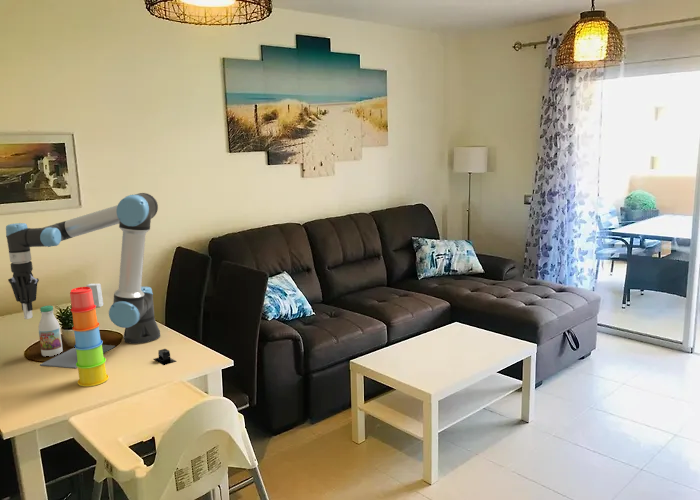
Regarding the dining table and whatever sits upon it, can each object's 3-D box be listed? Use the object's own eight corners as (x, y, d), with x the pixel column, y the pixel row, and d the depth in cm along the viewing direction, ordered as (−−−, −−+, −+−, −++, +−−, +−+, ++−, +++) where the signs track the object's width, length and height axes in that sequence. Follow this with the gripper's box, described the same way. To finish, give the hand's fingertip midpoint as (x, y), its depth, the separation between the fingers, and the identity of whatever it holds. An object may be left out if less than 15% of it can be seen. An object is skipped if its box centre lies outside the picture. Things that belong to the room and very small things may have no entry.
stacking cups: (114, 380, 203) (104, 286, 196) (85, 389, 195) (74, 292, 189) (101, 373, 209) (91, 282, 203) (72, 381, 202) (61, 288, 196)
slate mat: (115, 346, 237) (115, 345, 237) (75, 368, 214) (75, 367, 214) (82, 344, 241) (82, 343, 241) (40, 365, 218) (39, 364, 218)
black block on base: (180, 363, 219) (179, 352, 218) (162, 368, 214) (161, 357, 213) (166, 355, 228) (165, 344, 227) (148, 360, 223) (147, 349, 222)
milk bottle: (43, 351, 233) (37, 305, 229) (63, 349, 236) (58, 303, 232) (40, 358, 226) (34, 310, 222) (61, 355, 229) (55, 308, 225)
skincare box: (103, 305, 303) (101, 283, 301) (99, 307, 298) (97, 285, 296) (92, 305, 303) (90, 283, 301) (88, 307, 299) (85, 285, 297)
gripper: (-1, 263, 224) (8, 320, 228) (27, 264, 221) (34, 321, 225) (15, 259, 231) (22, 314, 235) (41, 260, 228) (48, 316, 232)
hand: (28, 318), depth 230 cm, fingers closed
